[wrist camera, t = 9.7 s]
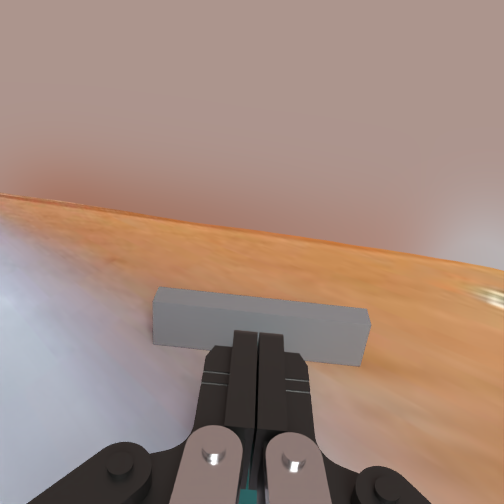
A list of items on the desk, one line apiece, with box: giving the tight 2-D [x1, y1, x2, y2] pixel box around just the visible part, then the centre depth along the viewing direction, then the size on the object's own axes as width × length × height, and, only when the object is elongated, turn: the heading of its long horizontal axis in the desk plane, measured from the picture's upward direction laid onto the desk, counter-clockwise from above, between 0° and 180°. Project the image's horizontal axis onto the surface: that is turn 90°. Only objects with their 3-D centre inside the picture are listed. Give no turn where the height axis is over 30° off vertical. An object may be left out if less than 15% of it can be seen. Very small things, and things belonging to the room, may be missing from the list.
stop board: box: [153, 287, 371, 366], centre depth 53 cm, size 24×3×6 cm, turn 87°
